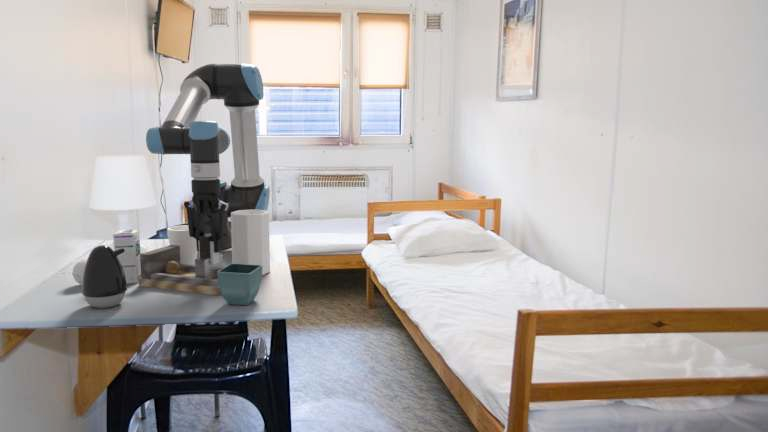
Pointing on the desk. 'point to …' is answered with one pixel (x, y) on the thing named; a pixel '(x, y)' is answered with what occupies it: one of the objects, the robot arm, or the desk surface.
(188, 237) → the foam cup
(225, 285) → the flower pot
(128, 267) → the syrup box
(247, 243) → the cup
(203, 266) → the block
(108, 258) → the pump dispenser
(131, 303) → the desk surface
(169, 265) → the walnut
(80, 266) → the white ball
